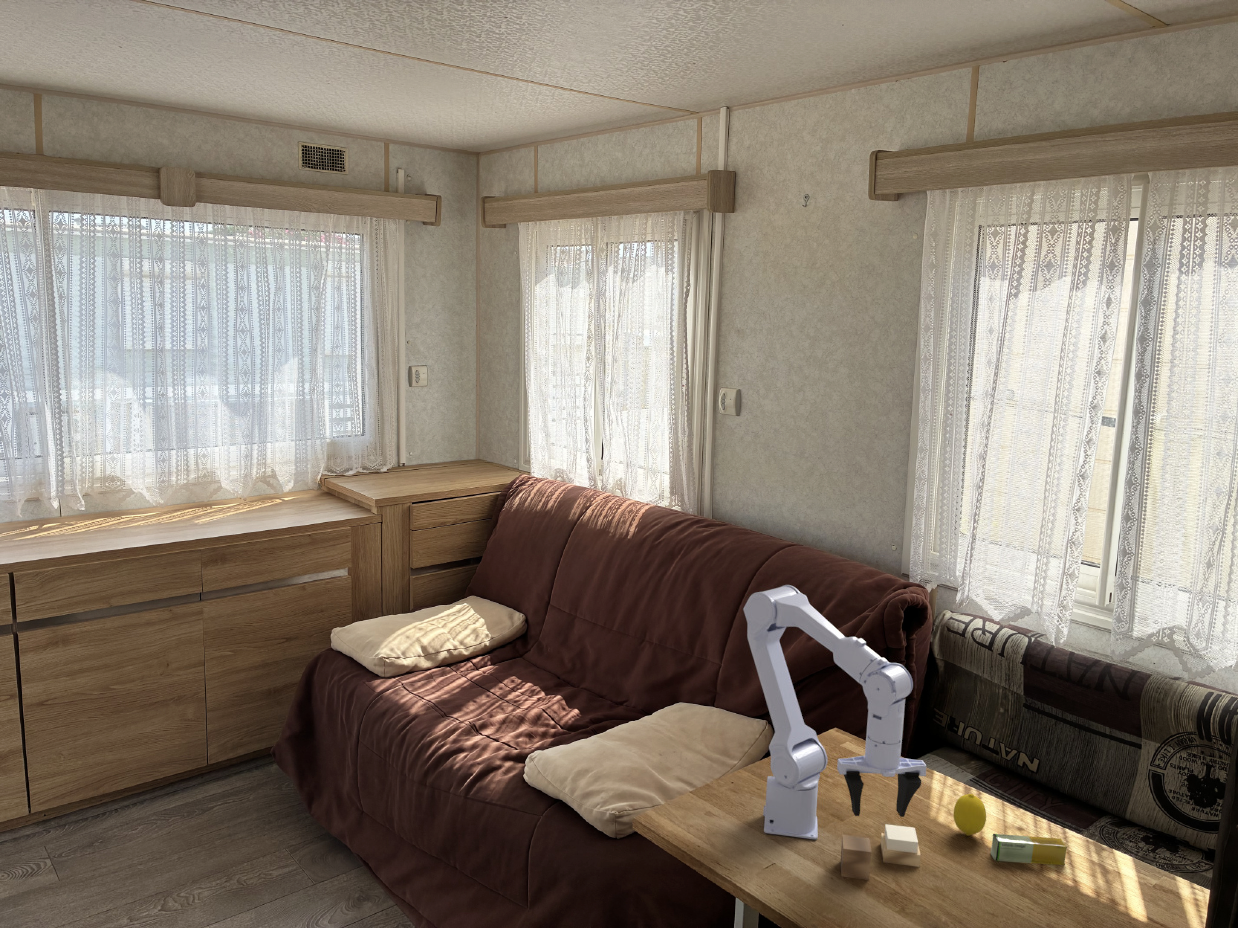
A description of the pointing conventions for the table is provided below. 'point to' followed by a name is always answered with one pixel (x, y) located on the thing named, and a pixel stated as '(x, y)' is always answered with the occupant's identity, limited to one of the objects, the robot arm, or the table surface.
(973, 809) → the lemon
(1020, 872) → the table surface
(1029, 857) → the medication box
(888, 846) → the cream block
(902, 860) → the oak base block
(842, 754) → the table surface
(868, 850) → the walnut block
